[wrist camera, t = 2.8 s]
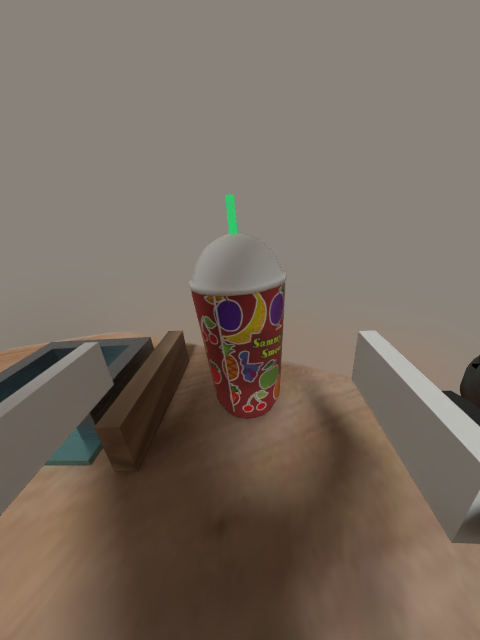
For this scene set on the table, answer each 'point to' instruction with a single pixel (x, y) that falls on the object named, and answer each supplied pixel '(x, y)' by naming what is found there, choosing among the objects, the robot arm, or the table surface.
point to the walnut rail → (143, 404)
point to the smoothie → (241, 318)
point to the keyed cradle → (84, 440)
